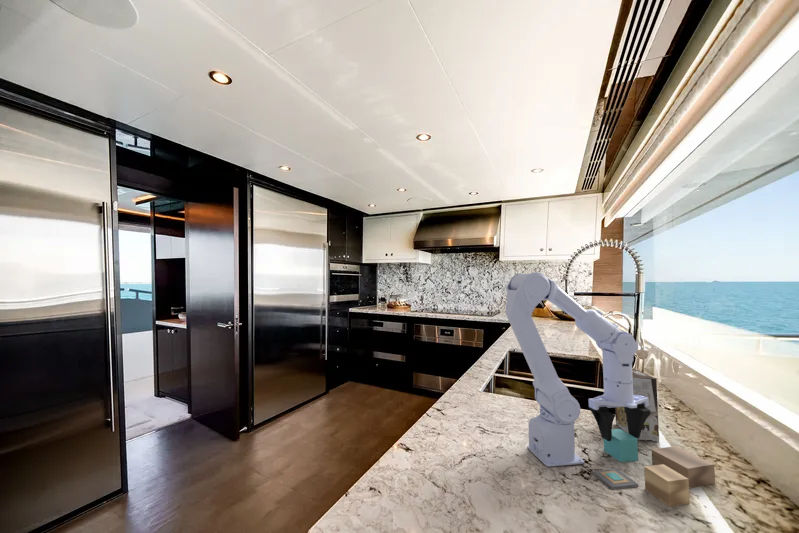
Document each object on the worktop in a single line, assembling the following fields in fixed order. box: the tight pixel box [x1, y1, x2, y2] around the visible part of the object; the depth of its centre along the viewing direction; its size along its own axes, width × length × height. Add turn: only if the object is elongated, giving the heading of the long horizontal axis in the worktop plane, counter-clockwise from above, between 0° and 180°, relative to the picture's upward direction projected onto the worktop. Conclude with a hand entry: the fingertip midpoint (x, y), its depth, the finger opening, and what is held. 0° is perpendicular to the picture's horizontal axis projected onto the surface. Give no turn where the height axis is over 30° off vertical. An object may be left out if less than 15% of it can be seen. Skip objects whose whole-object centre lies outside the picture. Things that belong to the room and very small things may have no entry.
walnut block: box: [651, 445, 716, 489], centre depth 63 cm, size 7×7×4 cm
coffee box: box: [614, 368, 660, 442], centre depth 81 cm, size 9×6×16 cm
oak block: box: [643, 464, 691, 507], centre depth 57 cm, size 4×4×4 cm
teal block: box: [603, 428, 639, 463], centre depth 70 cm, size 5×5×5 cm
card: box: [591, 468, 639, 491], centre depth 61 cm, size 6×5×1 cm
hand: (620, 437), depth 70 cm, fingers open, 7 cm apart
